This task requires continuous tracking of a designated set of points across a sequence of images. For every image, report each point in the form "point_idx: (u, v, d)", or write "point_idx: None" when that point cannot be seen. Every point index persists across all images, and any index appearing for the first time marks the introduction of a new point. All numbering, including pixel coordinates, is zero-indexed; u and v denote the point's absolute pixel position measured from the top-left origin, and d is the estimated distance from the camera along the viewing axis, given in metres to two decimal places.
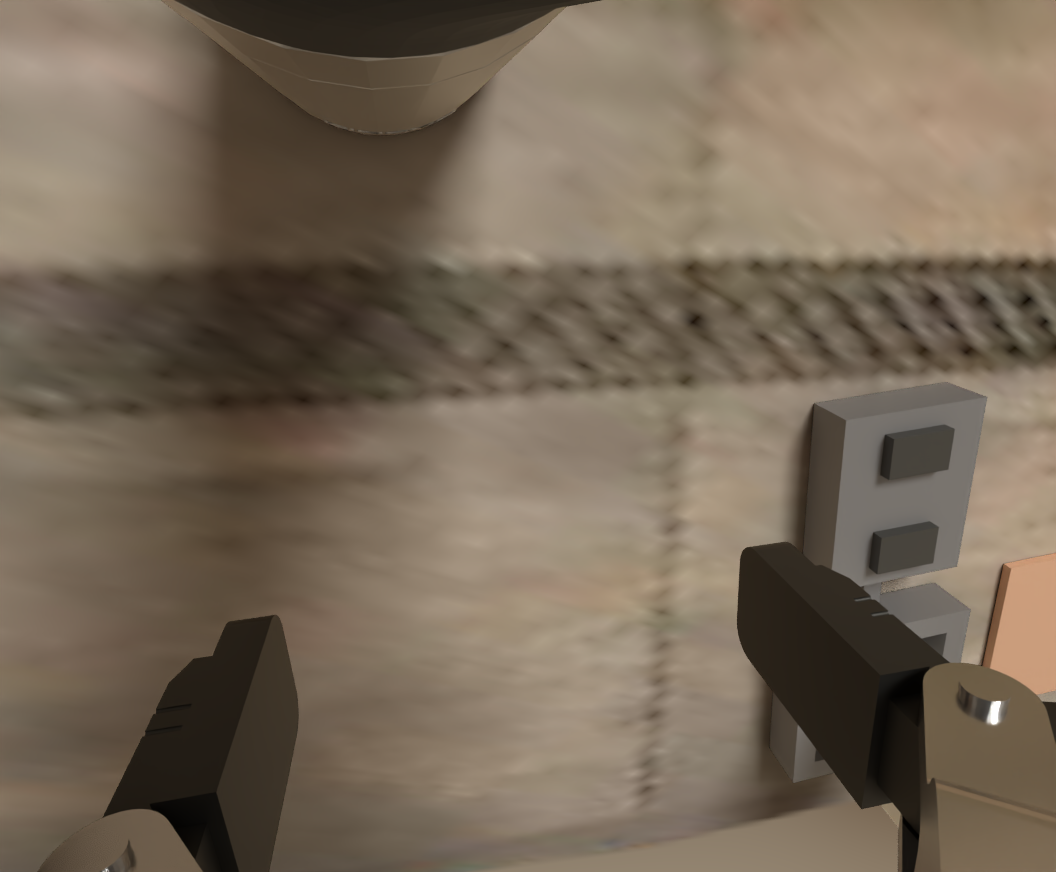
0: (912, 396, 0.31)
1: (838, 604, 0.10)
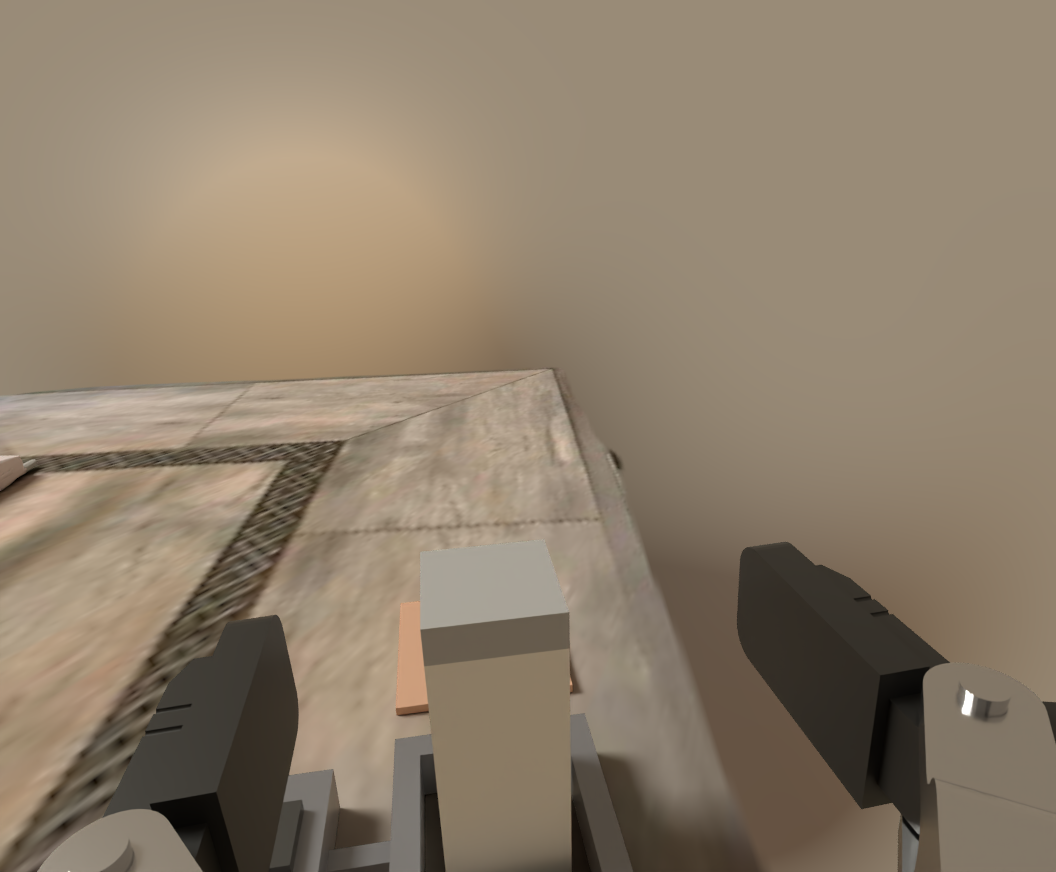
0: None
1: (838, 604, 0.10)
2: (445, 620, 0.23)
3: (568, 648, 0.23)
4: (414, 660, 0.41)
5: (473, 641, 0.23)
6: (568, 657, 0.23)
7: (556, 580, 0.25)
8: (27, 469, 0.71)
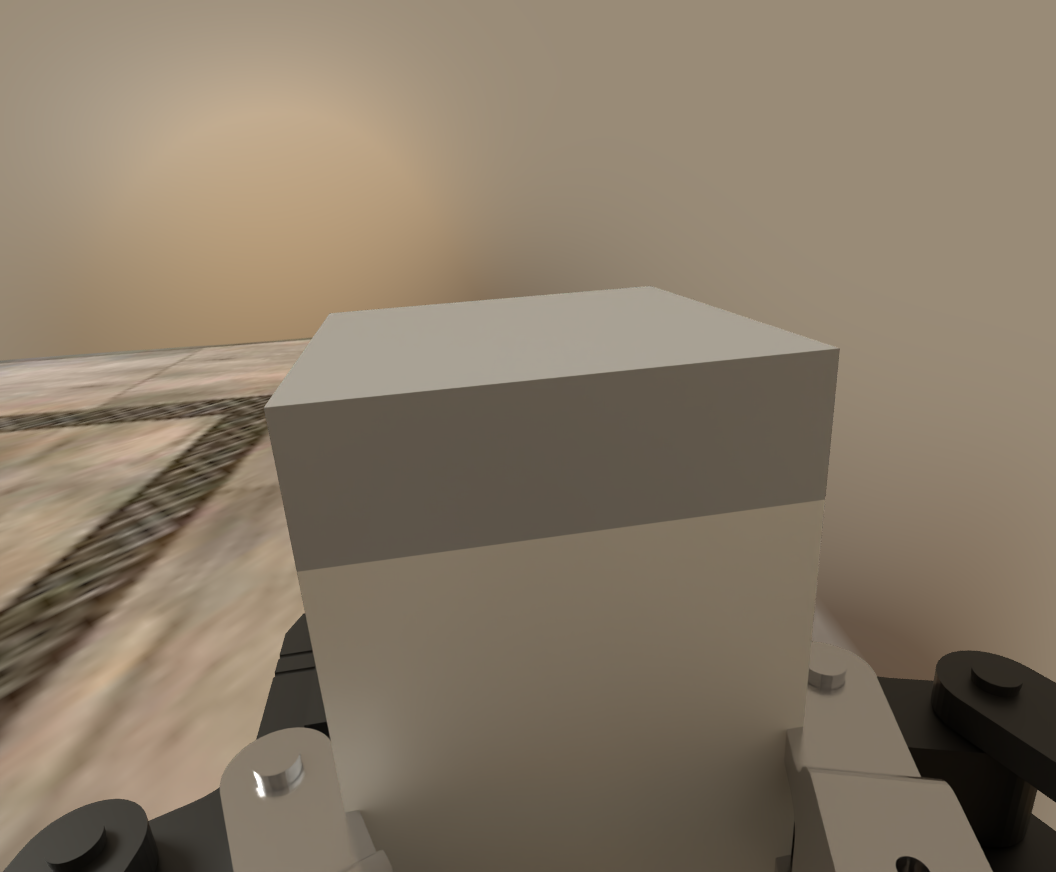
0: None
1: None
2: (372, 386, 0.06)
3: (821, 499, 0.07)
4: None
5: (484, 466, 0.06)
6: (818, 534, 0.07)
7: (733, 315, 0.08)
8: None
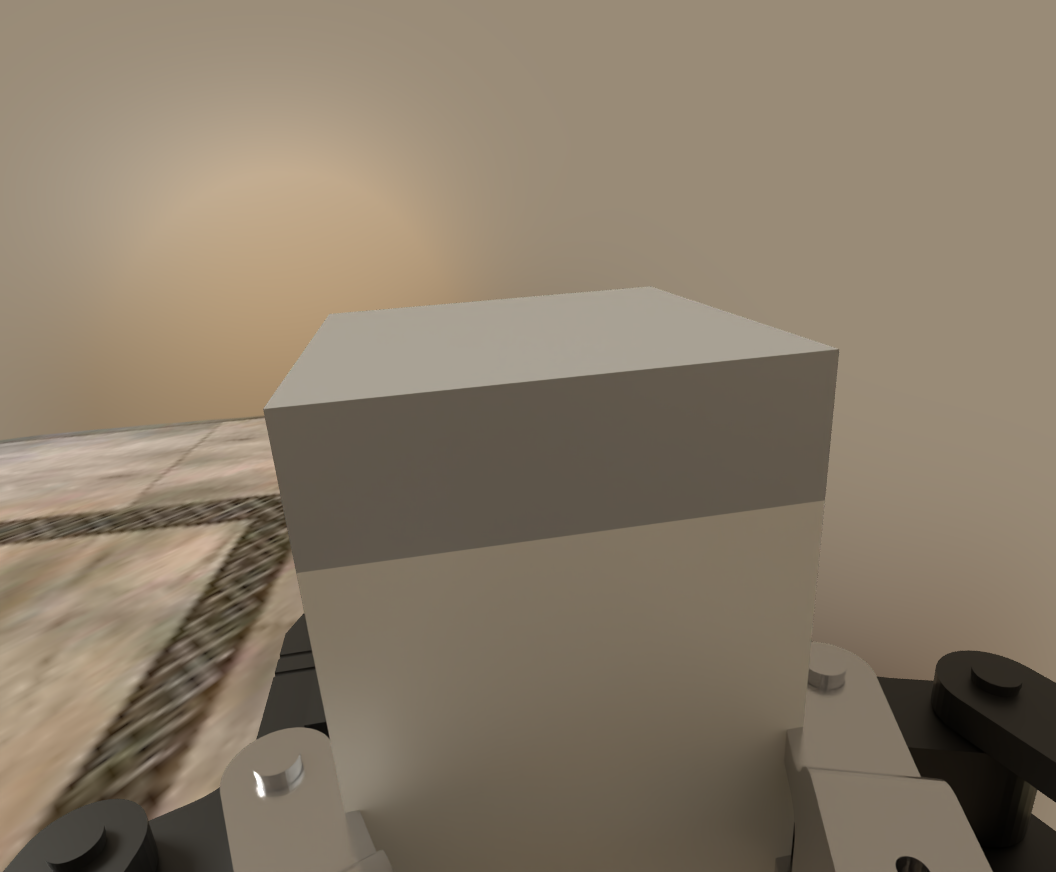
0: None
1: None
2: (372, 387, 0.06)
3: (821, 500, 0.07)
4: None
5: (484, 467, 0.06)
6: (818, 535, 0.07)
7: (732, 315, 0.08)
8: None
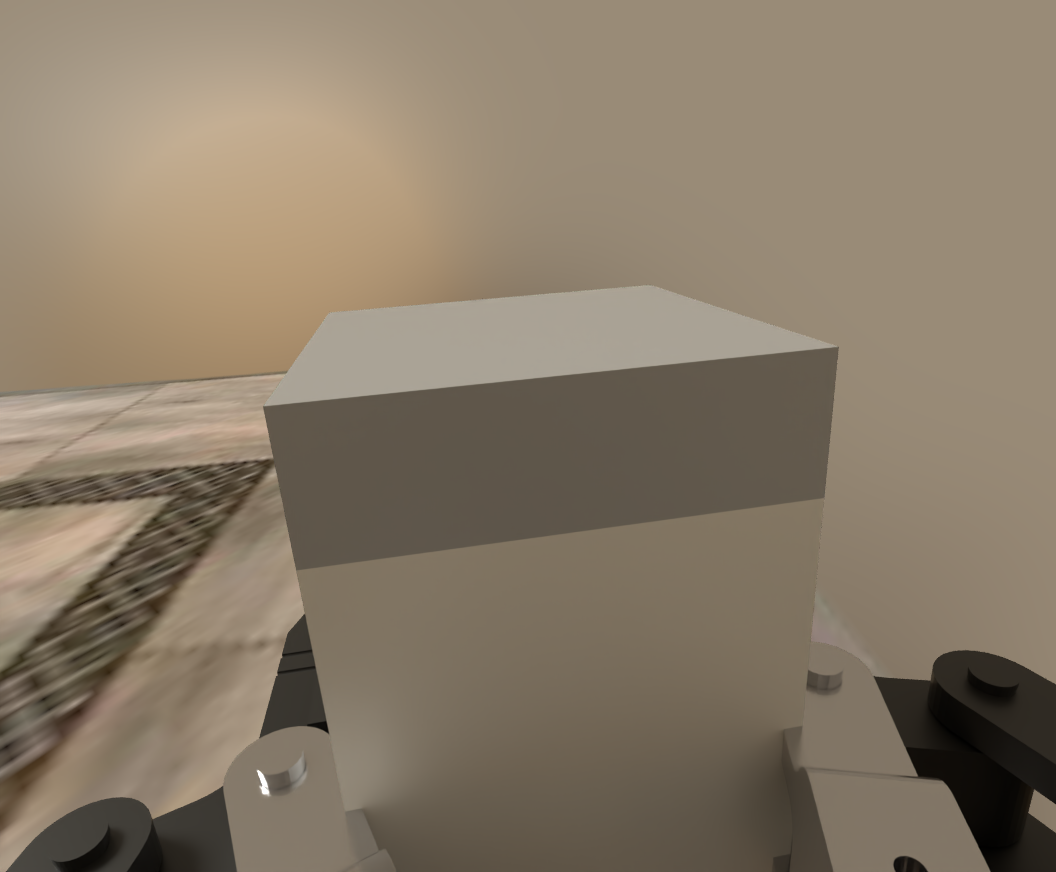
0: None
1: None
2: (371, 385, 0.06)
3: (820, 498, 0.07)
4: None
5: (483, 464, 0.06)
6: (817, 532, 0.07)
7: (731, 314, 0.08)
8: None
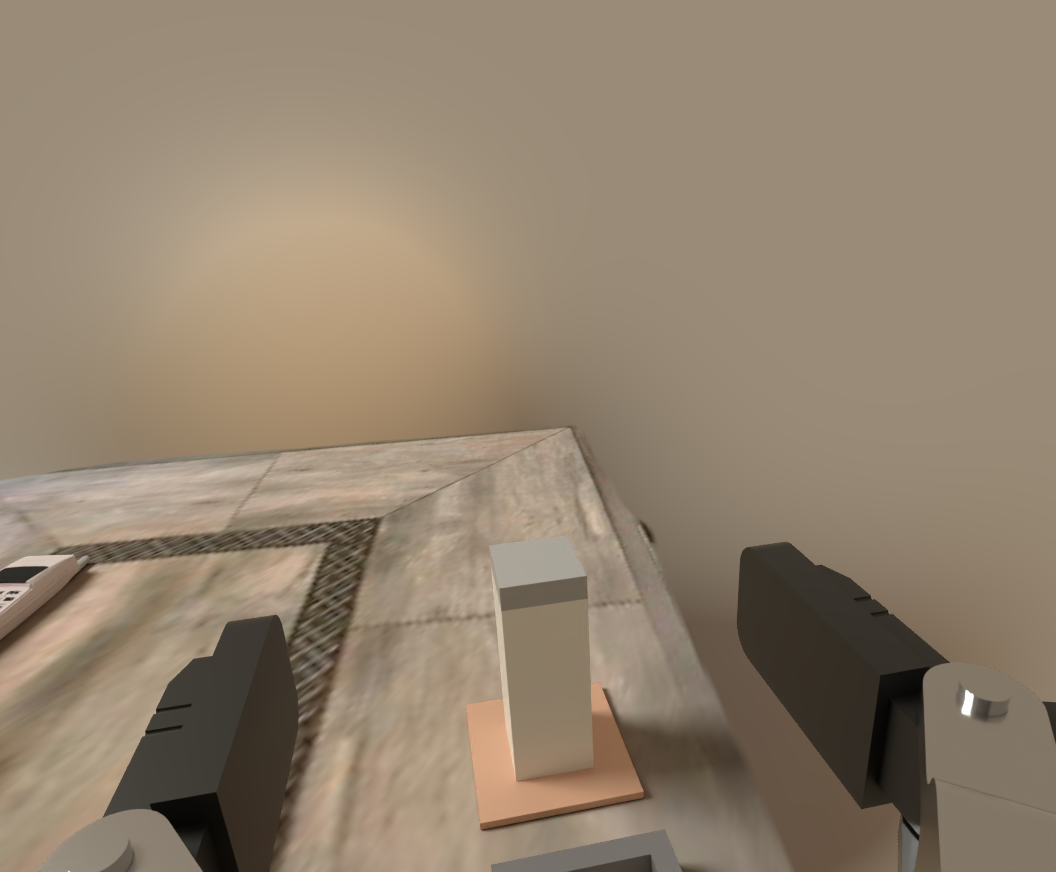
0: None
1: (838, 604, 0.10)
2: (513, 583, 0.38)
3: (586, 598, 0.39)
4: (489, 769, 0.43)
5: (530, 595, 0.38)
6: (587, 604, 0.39)
7: (577, 558, 0.40)
8: (81, 567, 0.72)
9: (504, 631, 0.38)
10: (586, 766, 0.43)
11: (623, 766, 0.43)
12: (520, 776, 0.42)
